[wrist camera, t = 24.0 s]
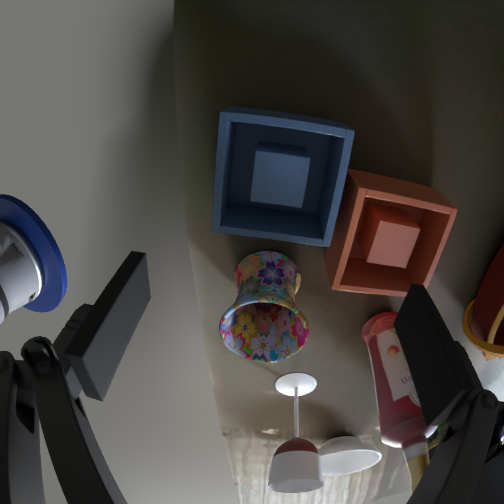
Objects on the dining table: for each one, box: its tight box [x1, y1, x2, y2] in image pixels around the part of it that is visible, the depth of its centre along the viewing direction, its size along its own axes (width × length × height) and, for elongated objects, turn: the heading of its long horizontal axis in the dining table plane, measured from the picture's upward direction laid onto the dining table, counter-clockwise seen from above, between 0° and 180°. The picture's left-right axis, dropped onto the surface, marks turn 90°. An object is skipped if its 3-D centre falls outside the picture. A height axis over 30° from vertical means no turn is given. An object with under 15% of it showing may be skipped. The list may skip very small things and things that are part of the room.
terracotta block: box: [357, 202, 420, 268], centre depth 32 cm, size 5×5×5 cm
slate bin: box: [212, 106, 355, 247], centre depth 30 cm, size 12×12×7 cm
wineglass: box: [268, 373, 323, 493], centre depth 44 cm, size 8×9×20 cm
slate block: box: [250, 141, 311, 208], centre depth 30 cm, size 5×5×5 cm
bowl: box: [317, 436, 382, 476], centre depth 62 cm, size 20×20×7 cm
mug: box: [219, 251, 309, 363], centre depth 37 cm, size 12×9×11 cm
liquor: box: [362, 312, 438, 495], centre depth 31 cm, size 7×7×28 cm
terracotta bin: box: [324, 168, 458, 297], centre depth 32 cm, size 12×12×7 cm
